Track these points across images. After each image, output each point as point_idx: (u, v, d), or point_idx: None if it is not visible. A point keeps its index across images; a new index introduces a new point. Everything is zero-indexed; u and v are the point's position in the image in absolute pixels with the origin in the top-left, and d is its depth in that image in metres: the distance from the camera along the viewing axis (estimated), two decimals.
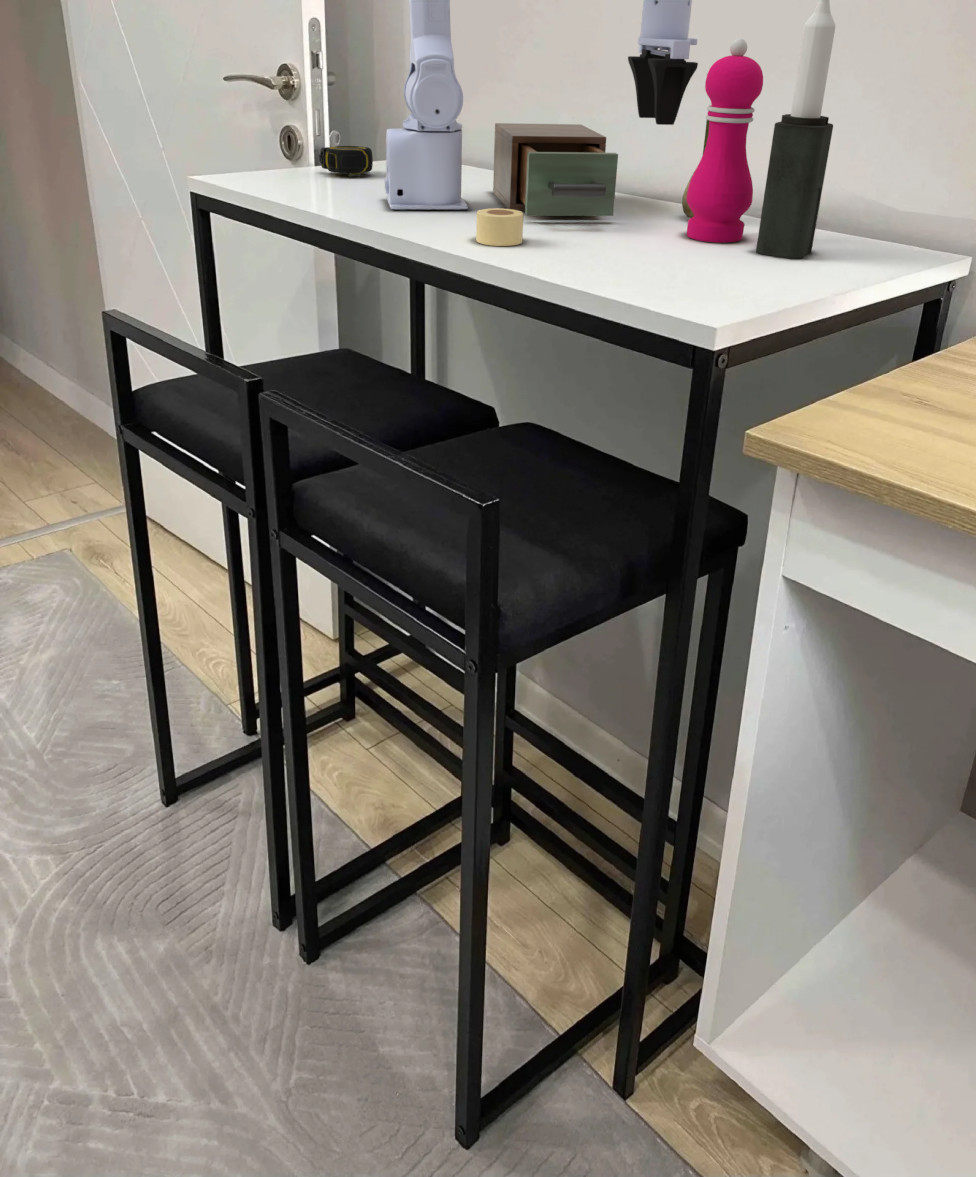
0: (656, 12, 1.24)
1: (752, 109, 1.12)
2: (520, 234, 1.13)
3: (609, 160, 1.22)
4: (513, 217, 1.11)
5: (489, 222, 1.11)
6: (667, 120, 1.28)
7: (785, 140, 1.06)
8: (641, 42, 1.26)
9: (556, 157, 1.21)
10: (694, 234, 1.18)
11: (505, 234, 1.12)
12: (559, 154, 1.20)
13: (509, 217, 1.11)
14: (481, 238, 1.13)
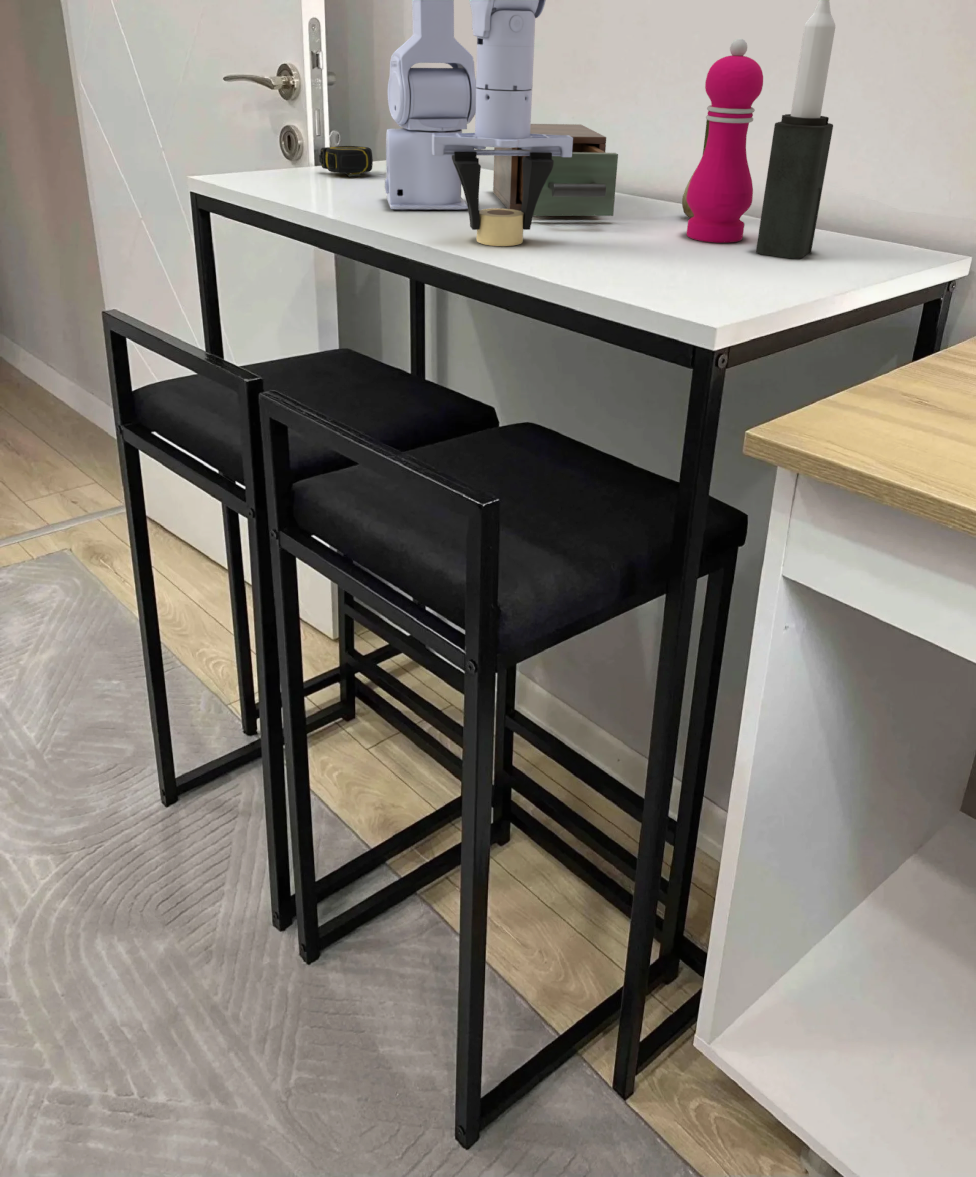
0: None
1: (752, 109, 1.12)
2: (520, 234, 1.13)
3: (609, 160, 1.22)
4: (513, 217, 1.11)
5: (489, 222, 1.11)
6: (471, 223, 1.13)
7: (785, 140, 1.06)
8: None
9: (556, 157, 1.21)
10: (694, 234, 1.18)
11: (505, 234, 1.12)
12: None
13: (509, 217, 1.11)
14: (482, 238, 1.13)
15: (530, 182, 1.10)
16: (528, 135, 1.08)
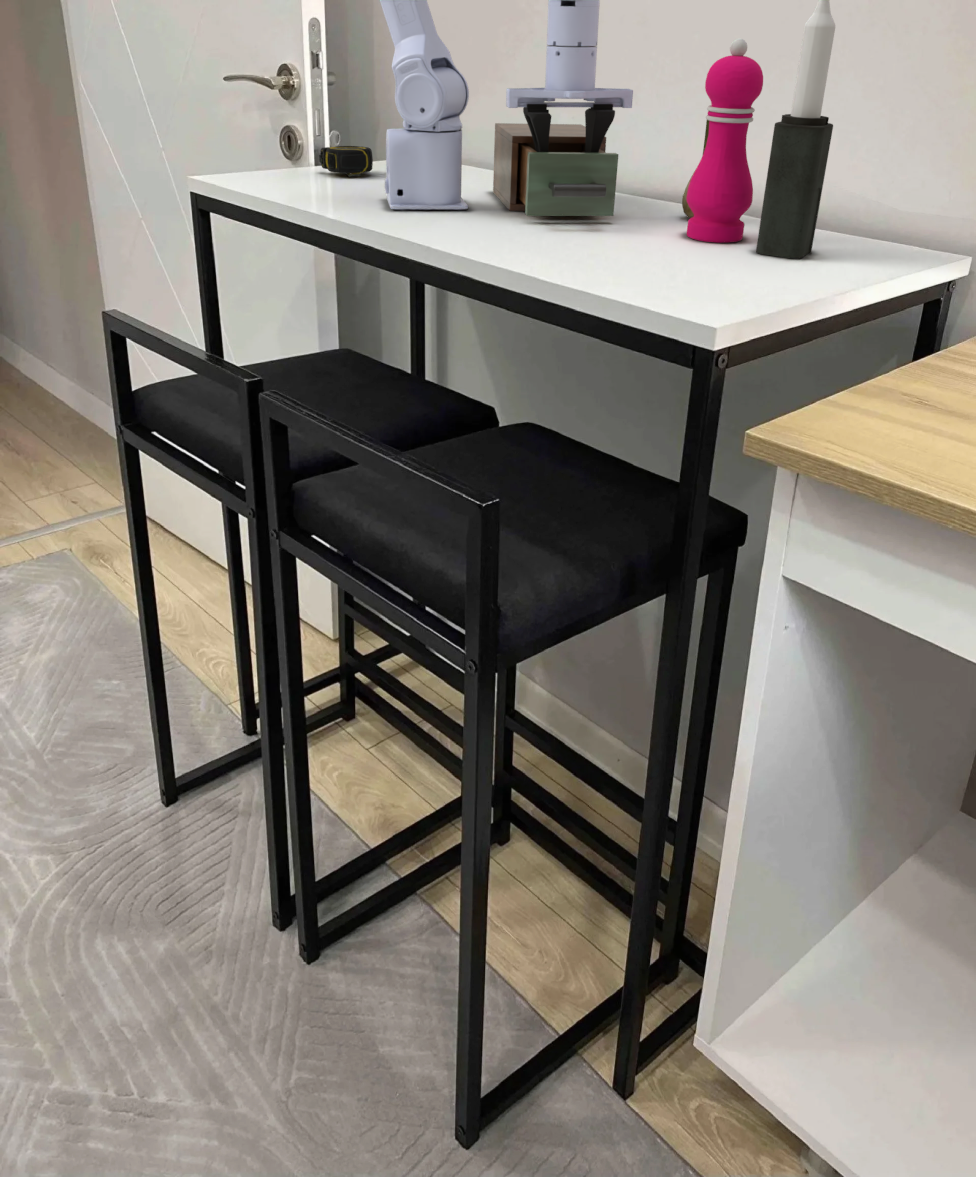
0: None
1: (752, 109, 1.12)
2: None
3: (609, 160, 1.21)
4: None
5: None
6: None
7: (785, 140, 1.06)
8: None
9: (556, 157, 1.20)
10: (694, 234, 1.18)
11: None
12: (559, 154, 1.20)
13: None
14: None
15: (594, 131, 1.22)
16: (593, 88, 1.20)
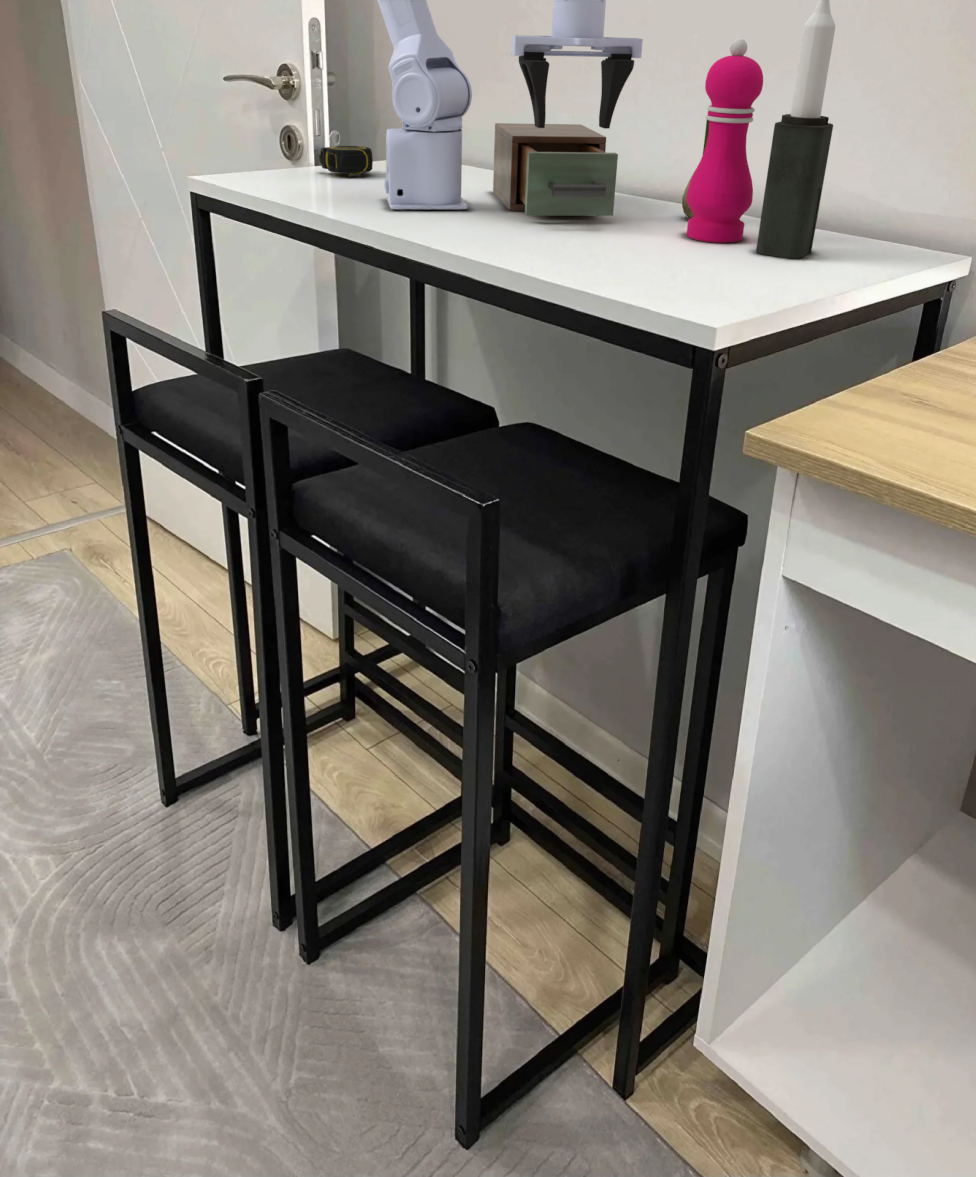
0: None
1: (752, 109, 1.12)
2: None
3: (608, 160, 1.22)
4: None
5: None
6: (536, 122, 1.20)
7: (785, 140, 1.06)
8: None
9: (556, 157, 1.21)
10: (694, 234, 1.18)
11: None
12: (559, 154, 1.20)
13: None
14: None
15: (612, 81, 1.18)
16: (602, 36, 1.16)
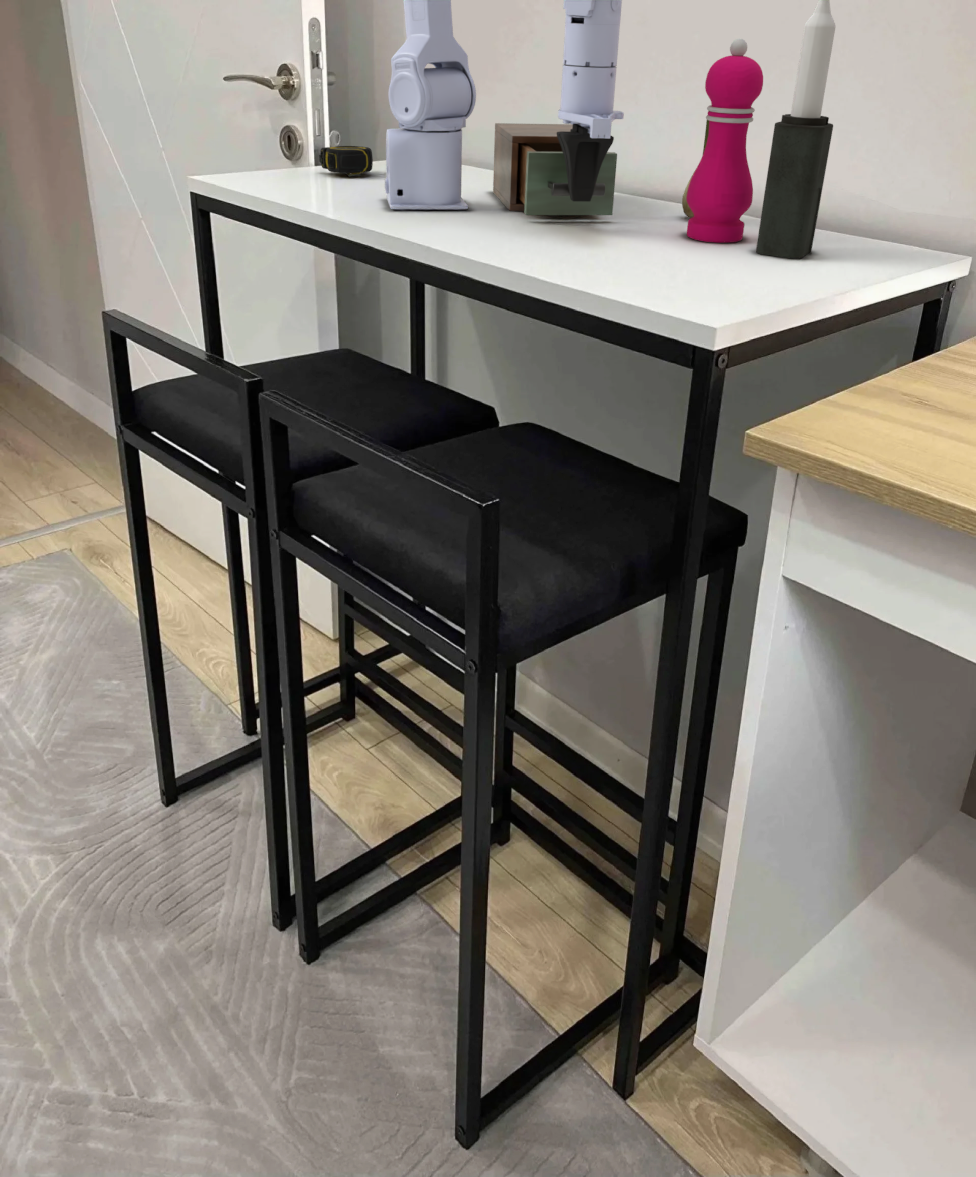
0: (575, 85, 1.11)
1: (752, 109, 1.12)
2: None
3: (608, 159, 1.22)
4: None
5: None
6: (583, 197, 1.18)
7: (785, 139, 1.06)
8: (560, 117, 1.13)
9: (555, 156, 1.21)
10: (694, 234, 1.18)
11: None
12: (558, 153, 1.21)
13: None
14: None
15: None
16: None
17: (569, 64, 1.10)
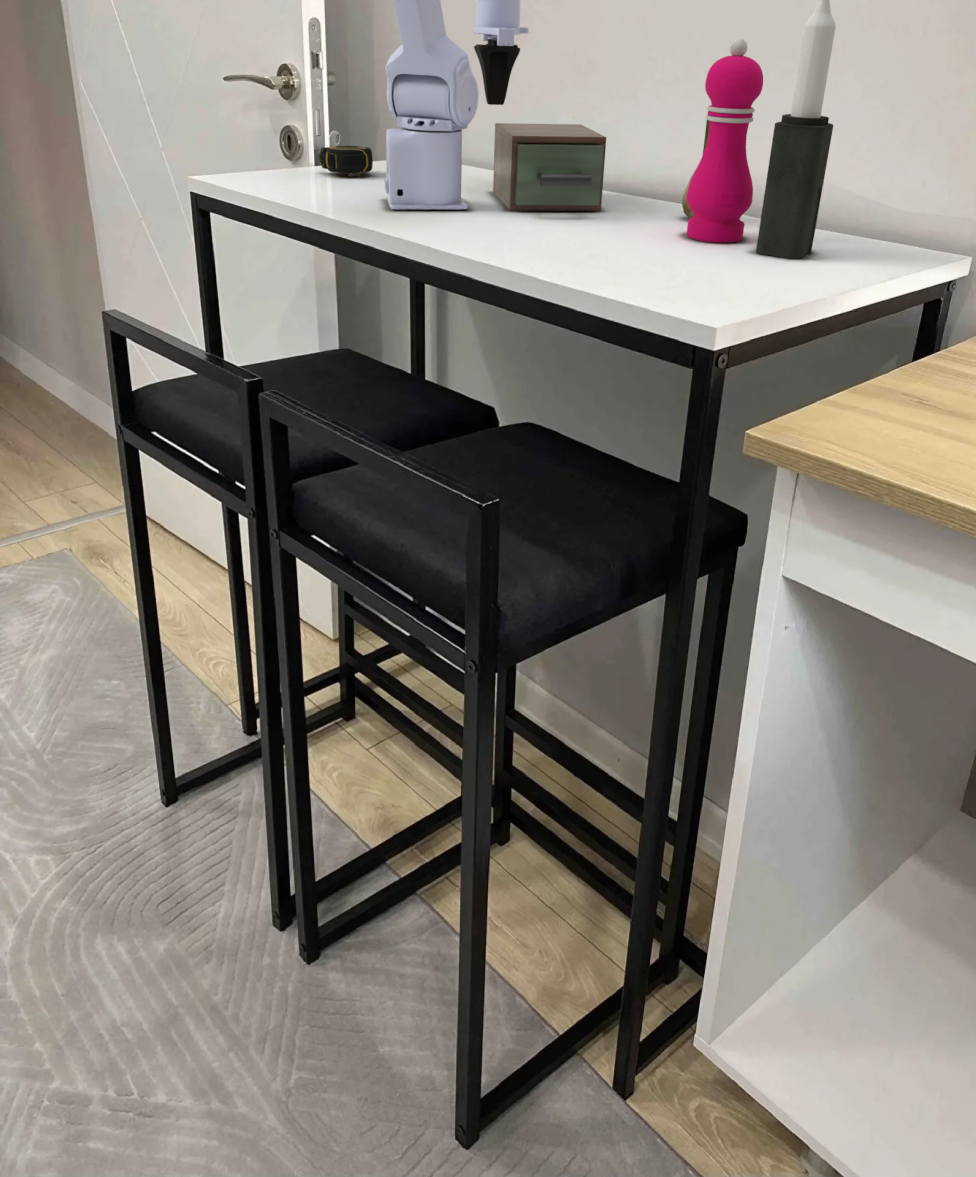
0: (486, 3, 1.34)
1: (752, 109, 1.12)
2: None
3: (594, 152, 1.28)
4: None
5: None
6: (497, 100, 1.41)
7: (785, 139, 1.06)
8: (475, 31, 1.37)
9: (544, 149, 1.27)
10: (694, 234, 1.18)
11: None
12: (547, 146, 1.26)
13: None
14: None
15: None
16: None
17: None
